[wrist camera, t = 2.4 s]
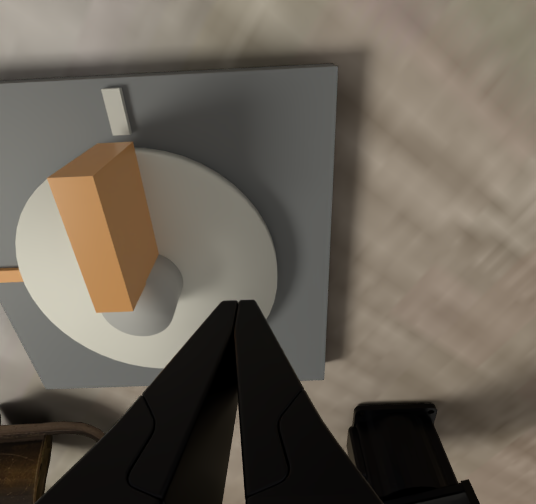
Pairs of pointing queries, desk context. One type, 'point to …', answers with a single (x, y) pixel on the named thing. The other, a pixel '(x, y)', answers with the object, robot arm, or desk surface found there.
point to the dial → (141, 250)
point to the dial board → (200, 150)
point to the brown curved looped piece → (31, 457)
